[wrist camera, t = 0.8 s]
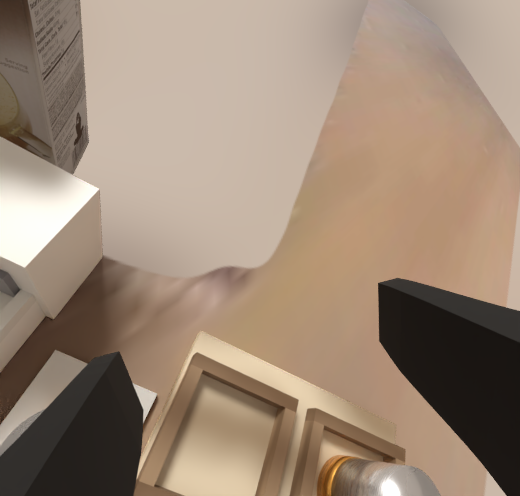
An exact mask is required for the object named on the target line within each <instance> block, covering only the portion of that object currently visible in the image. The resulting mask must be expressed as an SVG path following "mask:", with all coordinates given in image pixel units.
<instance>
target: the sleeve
mask: <svg viewBox="0 0 520 496" xmlns="http://www.w3.org/2000/svg"><path fill="white" fill-rule="evenodd" d="M317 496H440V493H439V491H438V489H437V488H436V486H435V484H434V483H433V481H432V480H431V479H430V478H429V476H428V475H426V474H425V473H424V472H423V471H422V470H420V469H418V468H416V467H413V466H406V465H399V464H393V463H386V462H379V461H373V460H366V459H361V458H358V457H352V456H345V455H336V456H333V457H331V458H330V459H329V460H327V461H326V463H325V464H324V465H323V467H322V469H321V471H320V473H319V476H318V481H317Z"/></svg>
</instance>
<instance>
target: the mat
mask: <svg viewBox="0 0 520 496" xmlns="http://www.w3.org/2000/svg"><path fill="white" fill-rule="evenodd" d="M86 365H87V363H85V362H83V361H80V360H78V359H76V358H73V357H71V356H69V355H66V354H64V353H62V352H60V351H57V350H55V351H54V353H53V354H52V355H51V357H50V358H49V359H48V361H47V362H46V364H45V365H44V366H43V368H42V369H41V370H40V372H39V373H38V374H37V376H36V377H35V379H34V380H33V381H32V383H31V384H30V385H29V387H28V388H27V389H26V391H25V392H24V394H23V395H22V396H21V398H20V399H19V400H18V402H17V403H16V404H15V406H14V407H13V409H12V410H11V411H10V413H9V414H8V415H7V417H6V418H5V419H4V421H3V422H2V424H1V425H0V446H1V445H2V443H3V442H4V441H5V439H6V438H7V437H8V436H9V434H10V433H11V432H12V431H13V430H14V429H15V428H16V427H18V426H19V425H20V424H21V423H22V422H23V421H25V420H26V419H28V418H29V417H31V416H32V415H34V414H36V413H37V412H40V411H42V410H44V409H46V408H47V407H48V406H49V405H50V404H51V403H52V402H53V401H54V399H55V398H56V397H57V396H58V395H59V394H60V393H61V392H62V391H63V390H64V389H65V388H66V387H67V385H68V384H69V383H70V382H71V381H72V380H73V379H74V378H75V377H76V376H77V375H78V374H79V373H80V372H81V371H82V370H83V368H84V367H85V366H86ZM133 386H134V388H135V390H136V393H137V395H138V398H139V400H140V403H141V405H142V407H143V410H144V412H143V422H144V420H145V418H146V416H147V414H148V412H149V410H150V408H151V406H152V404H153V402H154V400H155V398H156V396H157V394H156V393H154V392H152V391H149V390H147V389H145V388H143V387H140V386H138V385H136V384H133Z"/></svg>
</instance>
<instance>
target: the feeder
mask: <svg viewBox="0 0 520 496" xmlns="http://www.w3.org/2000/svg"><path fill="white" fill-rule="evenodd" d="M99 190H100V189H98V188H96V187H95V186H92V185H91V184H89V183H87V182H85V181H83V180H81V179H79V178H78V177H76V176H74V175H72V174H70V173H68V172H66V171H64V170H62V169H61V168H59V167H57V166H55V165H53V164H51V163H49V162H47V161H46V160H44V159H42V158H40V157H38V156H36V155H34V154H32V153H30V152H29V151H27V150H25V149H23V148H21V147H19V146H17V145H15V144H14V143H12V142H10V141H8V140H6V139H4V138H2V137H0V372H1V371H2V370H3V369H4V367H5V366H6V365H7V364H8V362H9V361H10V360H11V359H12V357H13V356H14V355H15V354H16V352H17V351H18V350H19V349H20V347H21V346H22V345H23V344H24V343H25V341H26V340H27V339H28V338H29V336H30V335H31V334H32V333H33V331H34V330H35V329H36V328H37V326H38V325H39V324H40V323H41V321H42V320H43V319H44V318H45V317H46V316H47V317H49V318H51V319H55V317H56V316H57V315H58V314H59V312H60V311H61V310H62V308H63V307H64V306H65V305H66V303H67V302H68V301H69V300H70V298H71V297H72V296H73V294H74V293H75V292H76V291H77V289H78V288H79V287H80V286H81V284H82V283H83V282H84V280H85V279H86V278H87V277H88V275H89V274H90V273H91V272H92V270H93V269H94V268H95V266H96V265H97V264H98V263H99V261H100V260H101V259H102V258H103V253H102V232H101V212H100V191H99Z"/></svg>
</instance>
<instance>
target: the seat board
mask: <svg viewBox="0 0 520 496" xmlns="http://www.w3.org/2000/svg"><path fill="white" fill-rule="evenodd" d="M395 442H396V424H394V423H392V422H390V421H388V420H386V419H384V418H382V417H379V416H377V415H375V414H373V413H371V412H369V411H367V410H365V409H363V408H361V407H359V406H357V405H354V404H352V403H350V402H348V401H346V400H344V399H342V398H340V397H338V396H336V395H334V394H332V393H330V392H327V391H325V390H323V389H321V388H319V387H317V386H315V385H313V384H311V383H309V382H307V381H305V380H302V379H300V378H298V377H296V376H294V375H292V374H290V373H288V372H286V371H284V370H282V369H280V368H278V367H275V366H273V365H271V364H269V363H267V362H265V361H263V360H261V359H259V358H257V357H255V356H253V355H250V354H248V353H246V352H244V351H242V350H240V349H238V348H236V347H234V346H232V345H230V344H228V343H225V342H223V341H221V340H219V339H217V338H215V337H213V336H211V335H209V334H207V333H205V332H203V331H200V332H199V333H198V334H197V337H196V339H195V341H194V343H193V345H192V347H191V350H190V352H189V354H188V356H187V358H186V360H185V362H184V365H183V367H182V369H181V371H180V373H179V375H178V378H177V380H176V382H175V384H174V386H173V388H172V390H171V393H170V395H169V397H168V399H167V401H166V403H165V406H164V408H163V410H162V412H161V414H160V416H159V418H158V421H157V423H156V425H155V427H154V429H153V431H152V434H151V436H150V438H149V440H148V442H147V444H146V446H145V449H144V451H143V453H142V455H141V457H140V462H139V468H138V473H137V479H136V485H135V490H134V496H317V481H318V476H319V473H320V471H321V469H322V467H323V465H324V464H325V463H326V461H327V460H329V459H330V458H331V457H333V456H336V455H345V456H352V457H358V458H361V459H366V460H373V461H379V462H386V463H393V464H399V465H405V449H403V448H401V447H399V446H397V445H395Z"/></svg>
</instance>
